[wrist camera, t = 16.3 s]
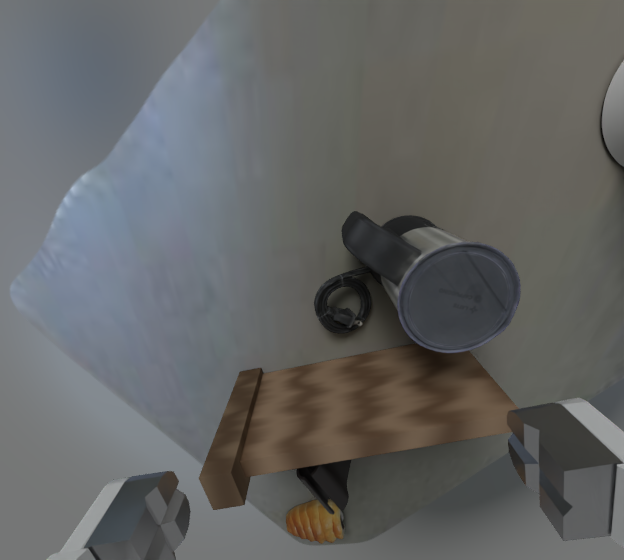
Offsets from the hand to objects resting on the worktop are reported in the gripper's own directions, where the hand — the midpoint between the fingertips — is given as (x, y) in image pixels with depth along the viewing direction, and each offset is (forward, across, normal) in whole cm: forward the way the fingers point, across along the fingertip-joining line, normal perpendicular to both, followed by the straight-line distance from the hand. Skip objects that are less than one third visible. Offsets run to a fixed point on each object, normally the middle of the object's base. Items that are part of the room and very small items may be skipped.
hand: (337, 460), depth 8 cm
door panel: (+31, 0, +18) cm, 36 cm away
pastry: (+32, +10, +45) cm, 56 cm away
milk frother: (+31, -6, +7) cm, 33 cm away
